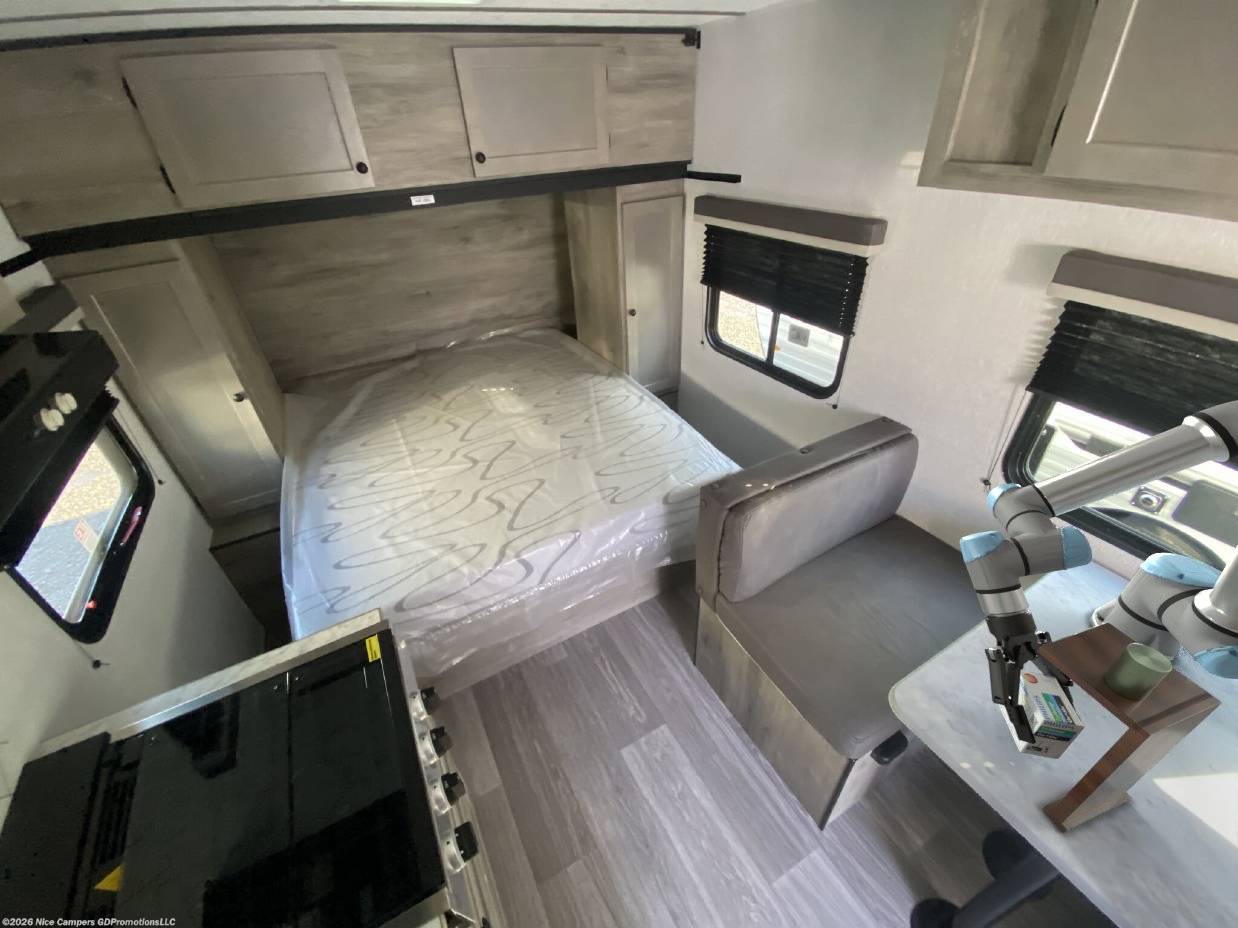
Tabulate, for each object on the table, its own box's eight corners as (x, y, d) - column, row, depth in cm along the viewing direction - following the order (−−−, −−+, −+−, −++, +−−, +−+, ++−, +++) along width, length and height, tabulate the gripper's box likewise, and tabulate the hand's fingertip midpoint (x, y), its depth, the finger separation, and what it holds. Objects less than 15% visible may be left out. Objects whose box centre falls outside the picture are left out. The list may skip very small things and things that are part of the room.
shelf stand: (1036, 715, 105) (1129, 593, 86) (1128, 801, 91) (1263, 679, 72) (977, 739, 101) (1060, 617, 82) (1064, 833, 87) (1188, 713, 68)
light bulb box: (1059, 760, 94) (1087, 728, 88) (1018, 753, 95) (1044, 720, 90) (1031, 707, 103) (1056, 674, 97) (995, 701, 104) (1017, 668, 98)
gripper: (1030, 597, 105) (1072, 708, 101) (943, 625, 99) (984, 745, 95) (1069, 597, 98) (1115, 717, 94) (978, 628, 92) (1023, 758, 88)
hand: (1049, 731), depth 95 cm, fingers closed on light bulb box, 10 cm apart
